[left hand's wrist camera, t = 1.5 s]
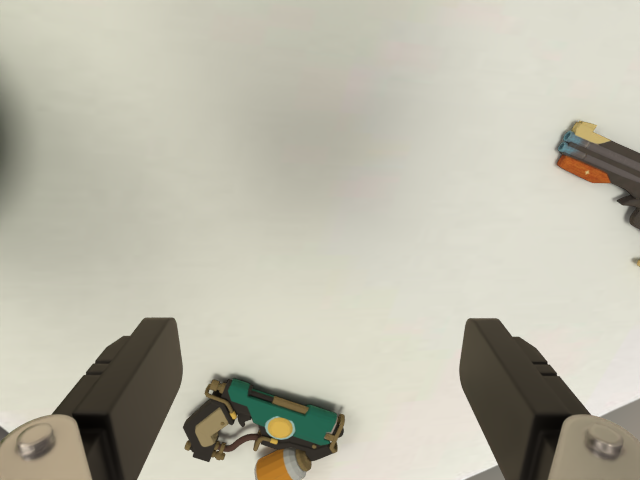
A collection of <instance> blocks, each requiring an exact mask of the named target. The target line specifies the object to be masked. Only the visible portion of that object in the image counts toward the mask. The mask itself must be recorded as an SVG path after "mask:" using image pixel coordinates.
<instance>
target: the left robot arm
mask: <svg viewBox="0 0 640 480" xmlns="http://www.w3.org/2000/svg"><path fill="white" fill-rule="evenodd" d="M459 373H460V381H461V385H462V388H463V391H464V393H465V395H466V397H467V399H468V401H469V404H470V406H471V408H472V410H473V412H474V414H475V416H476V418H477V421H478V423H479V425H480V427H481V429H482V431H483V433H484V435H485V437H486V440H487V442H488V444H489V446H490V448H491V450H492V452H493V454H494V457H495V459H496V461H497V463H498V465H499V467H500V469H501V471H502V474H503V476H504V478H505V480H640V442H639V440H638V439H637V438H635V437H634V436H633V435H632V434H631V433H630V432H628V431H627V430H625V429H624V428H622V427H621V426H619V425H617V424H615V423H613V422H611V421H609V420H606V419H604V418H601V417H597V416H593V415H591V414H590V413H589V412H588V410H587V409H586V408H585V407H584V406H583V404H582V403H581V402H580V401H579V400H578V398H577V397H576V396H575V395H574V393H573V392H572V391H571V390H570V389H569V387H568V386H567V385H566V384H565V383H564V381H563V380H562V379H561V378H560V377H559V376H557V373H556V372H555V370H554V369H553V368H552V367H551V366H550V365H548V363H547V361H546V360H545V358H544V357H543V356H542V355H541V353H540V352H539V351H538V350H537V349H536V348H535V347H533V346H532V345H530V344H529V343H528V342H526V341H525V340H523V339H522V338H520V337H512V336H511V334H510V333H509V332H508V331H507V329H506V328H505V327H504V325H503V324H502V323H501V321H500V320H499V319H497V318H469V319H468V320H467V322H466V325H465V331H464V338H463V345H462V352H461V359H460V367H459ZM182 374H183V365H182V357H181V350H180V343H179V336H178V329H177V323H176V321H175V319H174V318H144V319H143V320H142V321H141V323H140V324H139V325H138V327H137V328H136V329H135V330H134V332H133V333H132V334H131V336H123V337H121V338H120V339H118V340H117V341H115V342H114V343H112V344H111V345H109V346H108V347H106V349H105V350H104V351H103V352H102V353H101V355H100V356H99V357H98V358H97V360H96V361H95V364H92V366H91V367H90V368H89V369H88V371H87V372H86V375H83V377H82V378H81V379H80V380H79V382H78V383H77V384H76V385H75V386H74V388H73V389H72V390H71V391H70V393H69V394H68V395H67V396H66V397H65V399H64V400H63V401H62V402H61V404H60V405H59V406H58V407H57V409H56V410H55V411H54V412H53V413H52V415H47V416H43V417H39V418H36V419H34V420H31V421H29V422H27V423H25V424H23V425H21V426H19V427H18V428H16V429H15V430H13V431H12V432H10V433H9V434H8V435H7V436H6V437H5V438H3V439H2V441H1V442H0V480H137V478H138V476H139V474H140V472H141V470H142V468H143V465H144V463H145V461H146V459H147V457H148V455H149V453H150V450H151V448H152V446H153V444H154V442H155V440H156V438H157V435H158V433H159V431H160V429H161V427H162V425H163V422H164V420H165V418H166V416H167V414H168V412H169V410H170V407H171V405H172V403H173V401H174V399H175V397H176V395H177V392H178V390H179V388H180V385H181V381H182Z"/></svg>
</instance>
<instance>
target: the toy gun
mask: <svg viewBox="0 0 640 480" xmlns="http://www.w3.org/2000/svg"><path fill="white" fill-rule="evenodd" d="M596 126H597V125H594V124H591V123H587V122H583V121H579V122H578V123H577V122H576V124H575V125H574V127H573V129H572V131H568V132H567V133H566V134H565V136H564V139H563V140H564V141H566V142H562V143H561V144H560V145H559V147H558V151H560V153H561V154H563V155H562V156H561V158H560V159H559V161H558V163H557V165H558V166H559V167H561V168H563V169H565V170H567V171H569V172H571V173H573V174H575V175H577V176H579V177H581V178H583V179H585V180H587V181H589V182H592V183H612V184H614V185H617V186H619V187H621V188H623V189H625V190H626V191H628V192H629V193H630V194H631V195H630V196H626V197H624V198H621V199H619V200H617V202H619V203H620V204H622V205H627V206H635V207H636V210H635V211H634V212H633V213H632V215H631V217H630V224H631V225H633V226H634V227H636V228H638V229H640V153H638V152H636V151H633V150H631V149H629V148H627V147H624V146H622V145H620V144H617V143H615V142H613V141H611V140H609V139H607V138H605V137H603V136H600V135H598V134H596V133H594V132H593V131H594V129H595V128H596ZM637 265H638V266H639V267H640V260H638V263H637Z"/></svg>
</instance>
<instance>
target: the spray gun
mask: <svg viewBox="0 0 640 480" xmlns="http://www.w3.org/2000/svg"><path fill="white" fill-rule="evenodd" d="M209 390H213V391H214V392H213V394H212V395H211V394H209V393H208V392H209ZM205 395H206V397H208V398H211V399H210V400H208V401H207V402H206V403H205V404H204V405H203V406H201V407H200V408H199V409H198V410H197V411H196V412H195V413H194V414H192V415H191V416H190V417H189V418H188V419H187V420H186V422H185V423H184V426H183V429H184V431H185V433H186V435H187V437H188V439H189V440H188V441H187V443H186V445H185V449H186V450H188V451H189V450H192V452H194V454H193V457H194V458H198V459H201V460H204V461H207V462H209V461H210V459H211V457H215V458H216V459H217V460H224V457H225V453H223V451H224V452H230V451H233V450H235V449H236V448H237V447H238V446H239V445H241V444H242V443H244V442H246V441H249V440H255V444H254V448H253V450H254V451H257V449H258V447H259V445H260V443H261V444H262V445H265V446H268V447H271V448H274V449H277V451H275V452H273V453H271V454H269V455H266V456H264V457H262V458H260V459H259V460H258V461H257V463H256V466H255V479H256V480H302V479H303V478H304V477H305V475H306V471H308V470H310V469H311V461H315V460H318V459H320V458H323V457H325V456H328V455H330V454H333V453H335V452H337V442H336V441H337V439H338V438H339V437H341V436H342V435H343V432H344V429H343V426H344V422H345V416H344V415H343V414H340V415H339V417H337V414H336V413H334V412H331V411H328V410H325V409H322V408H319V407H316V406H313V405H310V404H309V405H307V406H304V405H301V404H297V403H294V402H291V401H288V400H286V399H283V398H280V397H277V396H273V395H270V394H267V393H264V392H261V391H258V390H255V389H253V385H250V383H247V382H244V381H241V380H238V379H235V378H233V380H230V379H228V381H227V383H222V384H220V382H219V381H217V380H212V383H211V384H209V385H208V386H207V388H206V390H205ZM237 415H238V417H237ZM236 418H238V422H239V424H240V425H241V426H242V427H244V426H245V421H248V420H251V418H252V420H253V422H254V423H256V424H258V425H259V428H260V430H259V431H258V434H247V435H245V436H242V437H240V438H239V439H237V440H236V441H235V442H234V443H233V444H231V445H226V443H224V442H222V444H220V442H219V441H217V440H218V437H219V436H218V431H219V430H221V429H222V428H223V427H225V426H226V425H228V424H230V425H233V424H234V421H235V419H236ZM339 424H340V425H339ZM261 434H262V435H261ZM330 441H332V442H331V443H330ZM216 450H219V451H217V452H216Z"/></svg>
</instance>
